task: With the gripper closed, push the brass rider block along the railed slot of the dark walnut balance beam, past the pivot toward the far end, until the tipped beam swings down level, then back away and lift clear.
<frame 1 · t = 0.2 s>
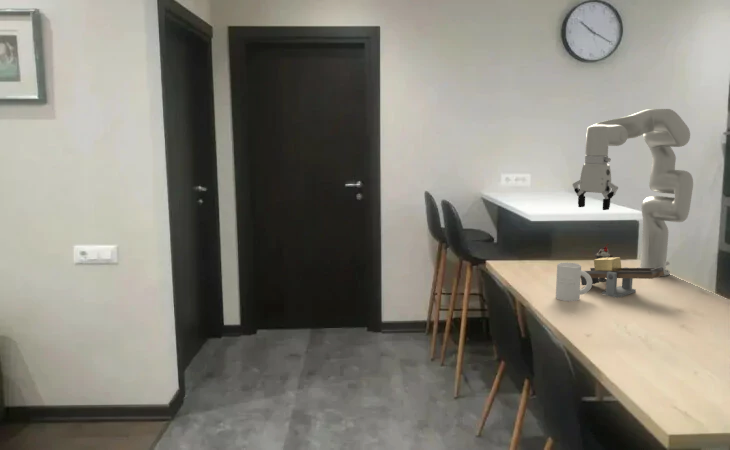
hand: (593, 208, 223), 31 cm above the table, fingers open, 9 cm apart
sundae: (602, 280, 243), on the table
mug: (573, 299, 218), on the table
beam: (620, 276, 223), point 6 cm above the table, hinge at 10.4°, touching rider
pivot stand: (618, 293, 225), on the table
rider: (608, 272, 227), point 7 cm above the table, tilted 10°, touching beam
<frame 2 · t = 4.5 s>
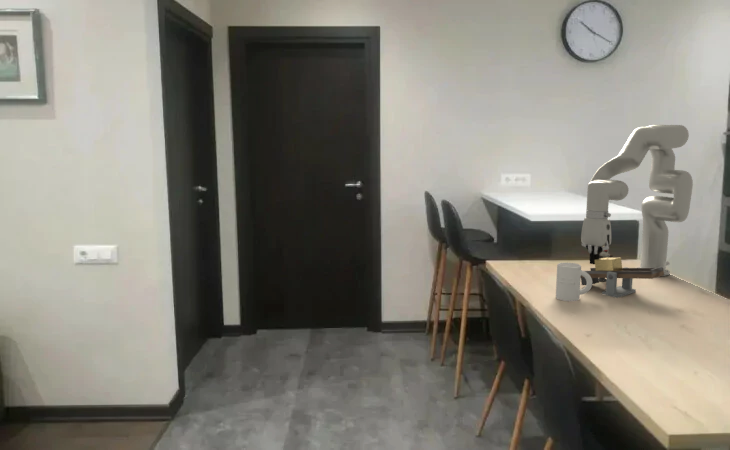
hand: (594, 263, 231), 9 cm above the table, fingers closed
rider: (609, 272, 227), point 7 cm above the table, tilted 10°, touching beam, gripper
everything else where it was.
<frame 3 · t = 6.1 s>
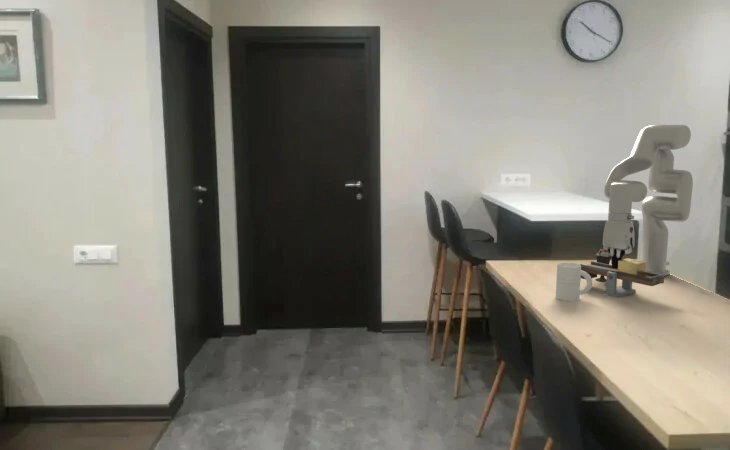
hand: (616, 267, 224), 9 cm above the table, fingers closed
beam: (619, 276, 224), point 6 cm above the table, hinge at -0.5°, touching rider
rider: (631, 274, 220), point 8 cm above the table, touching beam
everything else where it was.
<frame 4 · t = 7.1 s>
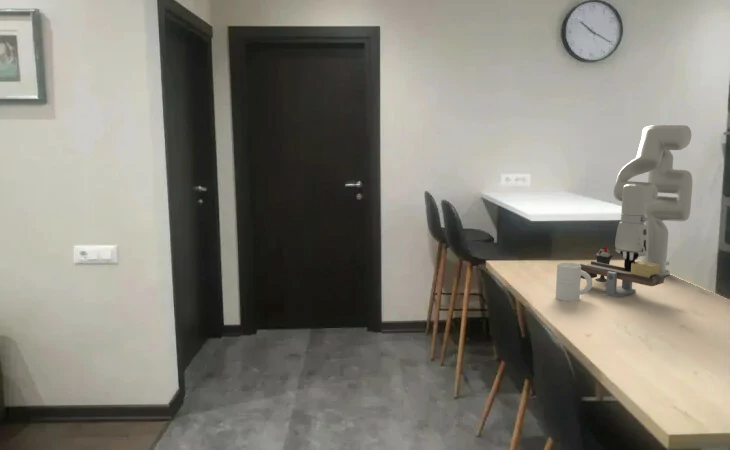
hand: (629, 270, 220), 9 cm above the table, fingers closed
rider: (644, 277, 216), point 8 cm above the table, touching beam, gripper
everything else where it was.
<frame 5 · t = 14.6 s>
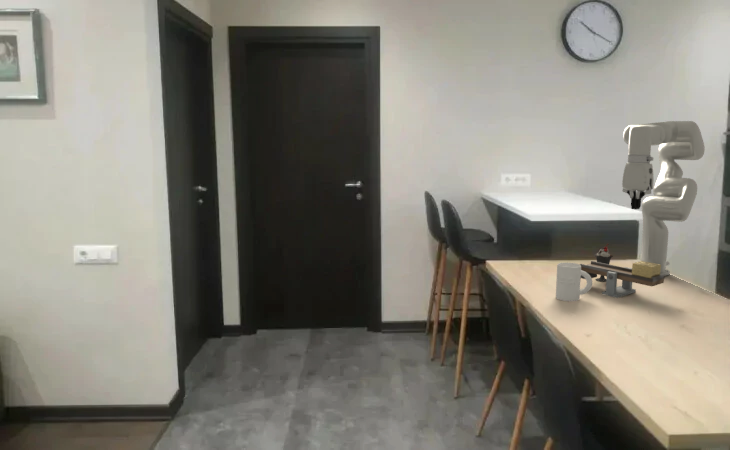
hand: (635, 208, 232), 29 cm above the table, fingers closed
rider: (645, 277, 216), point 8 cm above the table, touching beam
everything else where it was.
at the end: beam at -1° (first picture: +10°); rider inside the target area (0.4 cm from its centre), point 7.6 cm above the table; rider tilted 1° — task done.
